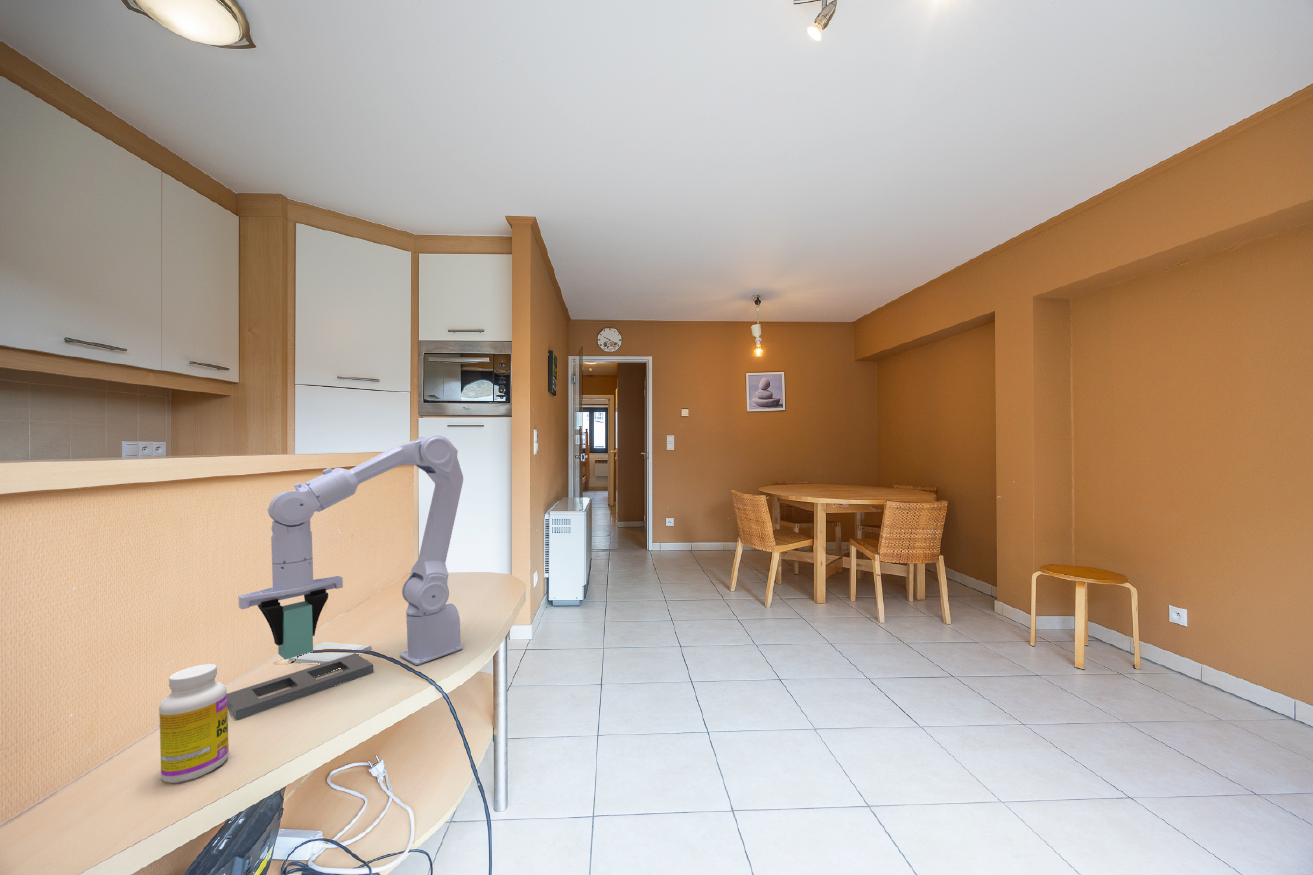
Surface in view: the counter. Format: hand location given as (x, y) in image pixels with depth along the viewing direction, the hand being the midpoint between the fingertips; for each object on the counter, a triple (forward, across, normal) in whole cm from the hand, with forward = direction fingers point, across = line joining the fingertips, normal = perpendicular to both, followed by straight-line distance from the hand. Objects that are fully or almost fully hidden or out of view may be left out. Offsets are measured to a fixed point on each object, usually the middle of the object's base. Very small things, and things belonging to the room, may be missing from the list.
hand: (295, 639), depth 86 cm
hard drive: (+10, -10, -15) cm, 20 cm away
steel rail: (+10, -2, -3) cm, 10 cm away
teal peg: (+2, 0, 0) cm, 2 cm away
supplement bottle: (+10, +14, +13) cm, 22 cm away
